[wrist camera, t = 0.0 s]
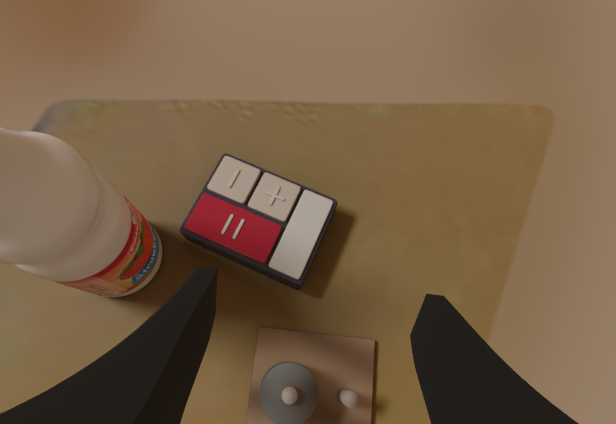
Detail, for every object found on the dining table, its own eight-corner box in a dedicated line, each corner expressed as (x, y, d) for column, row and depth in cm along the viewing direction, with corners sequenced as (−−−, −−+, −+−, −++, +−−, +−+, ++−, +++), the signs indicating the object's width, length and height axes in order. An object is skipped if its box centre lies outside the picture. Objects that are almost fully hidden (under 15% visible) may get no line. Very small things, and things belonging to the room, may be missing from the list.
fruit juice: (73, 227, 45) (-194, 62, 19) (157, 209, 47) (21, 34, 21) (82, 308, 43) (-215, 248, 16) (171, 286, 44) (33, 199, 18)
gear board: (365, 507, 39) (381, 531, 34) (235, 496, 39) (231, 520, 33) (373, 339, 45) (387, 339, 39) (259, 327, 44) (258, 324, 39)
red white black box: (223, 148, 47) (339, 197, 45) (227, 165, 51) (335, 210, 49) (176, 229, 43) (301, 285, 42) (185, 239, 47) (299, 291, 46)
